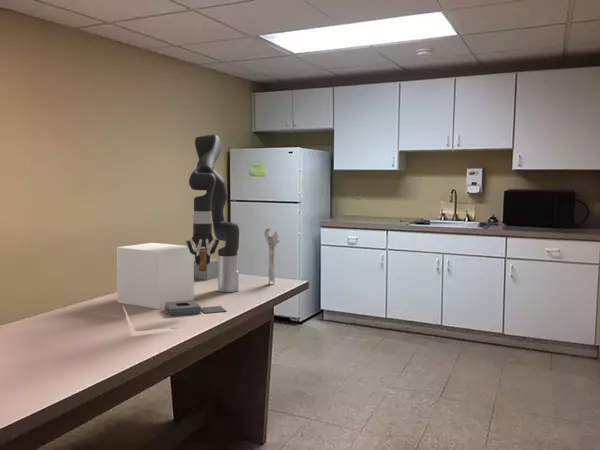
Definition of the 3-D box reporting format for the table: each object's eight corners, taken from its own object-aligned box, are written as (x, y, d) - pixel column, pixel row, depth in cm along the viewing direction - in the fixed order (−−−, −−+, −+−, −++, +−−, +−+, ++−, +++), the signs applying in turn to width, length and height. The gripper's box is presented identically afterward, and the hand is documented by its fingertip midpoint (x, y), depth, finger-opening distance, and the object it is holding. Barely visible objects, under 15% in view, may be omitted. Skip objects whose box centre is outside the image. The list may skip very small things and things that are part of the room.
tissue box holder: (237, 276, 295) (237, 257, 294) (207, 282, 276) (207, 262, 275) (205, 271, 309) (205, 253, 308) (174, 277, 290) (174, 258, 289)
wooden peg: (205, 269, 216) (205, 248, 216) (207, 271, 213) (207, 249, 213) (197, 270, 215) (197, 248, 214) (199, 271, 212) (199, 249, 211)
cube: (193, 300, 236) (193, 246, 234) (159, 310, 218) (159, 251, 216) (153, 294, 248) (152, 242, 246) (117, 302, 230) (116, 247, 228)
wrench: (279, 286, 268) (280, 227, 265) (278, 287, 266) (279, 228, 264) (265, 285, 270) (265, 227, 268) (264, 285, 269) (264, 227, 266)
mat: (220, 306, 223) (220, 305, 223) (226, 311, 215) (226, 310, 215) (199, 308, 219) (199, 307, 219) (204, 313, 211) (204, 312, 211)
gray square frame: (194, 307, 222) (194, 300, 221) (200, 313, 211) (200, 306, 210) (165, 309, 217) (165, 302, 216) (170, 316, 206) (170, 309, 206)
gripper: (216, 221, 219) (216, 262, 220) (183, 221, 213) (183, 264, 214) (222, 222, 212) (221, 264, 213) (187, 223, 206) (187, 266, 207)
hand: (202, 264), depth 214 cm, fingers closed on wooden peg, 3 cm apart
